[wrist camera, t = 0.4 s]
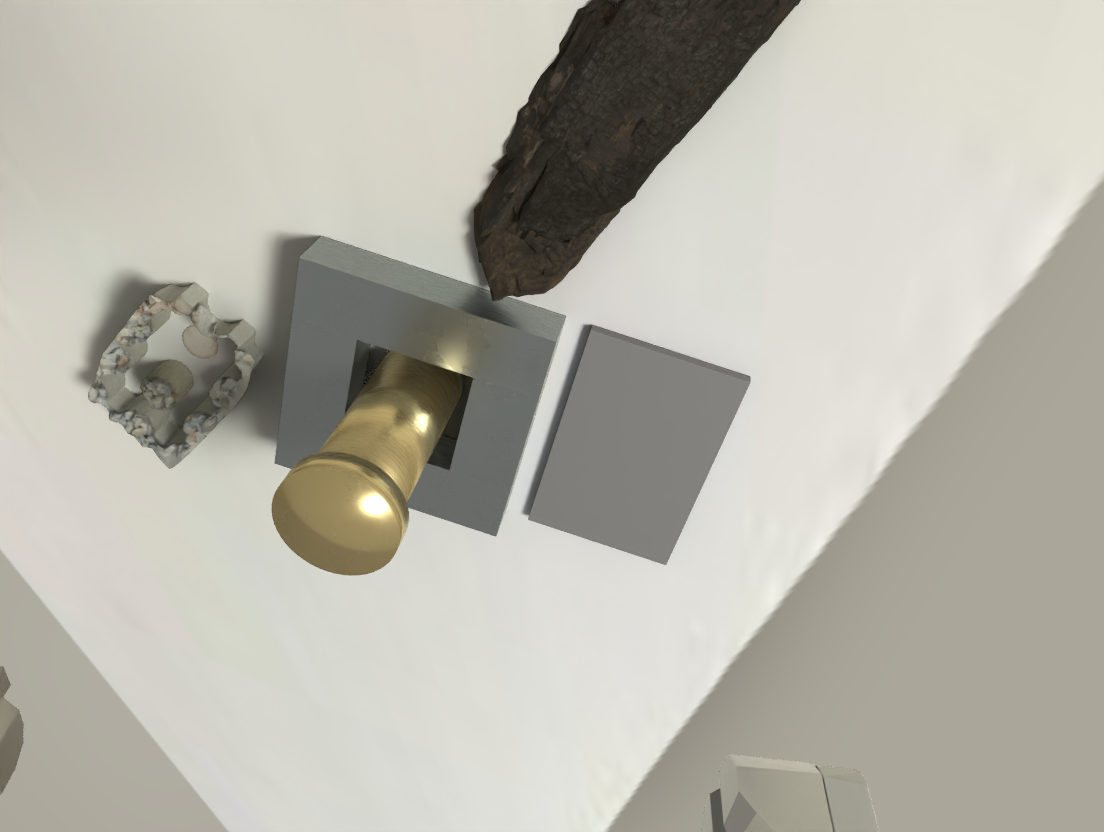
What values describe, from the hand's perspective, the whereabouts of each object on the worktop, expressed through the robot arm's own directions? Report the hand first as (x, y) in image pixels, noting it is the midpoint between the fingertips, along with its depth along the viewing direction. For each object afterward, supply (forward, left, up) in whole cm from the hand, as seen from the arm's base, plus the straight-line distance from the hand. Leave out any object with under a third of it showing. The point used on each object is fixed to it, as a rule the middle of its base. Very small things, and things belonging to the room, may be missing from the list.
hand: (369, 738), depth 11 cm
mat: (+22, +6, -39) cm, 45 cm away
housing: (+22, -7, -39) cm, 45 cm away
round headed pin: (+22, -7, -39) cm, 45 cm away
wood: (+4, -1, -39) cm, 40 cm away
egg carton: (+26, -21, -39) cm, 52 cm away
